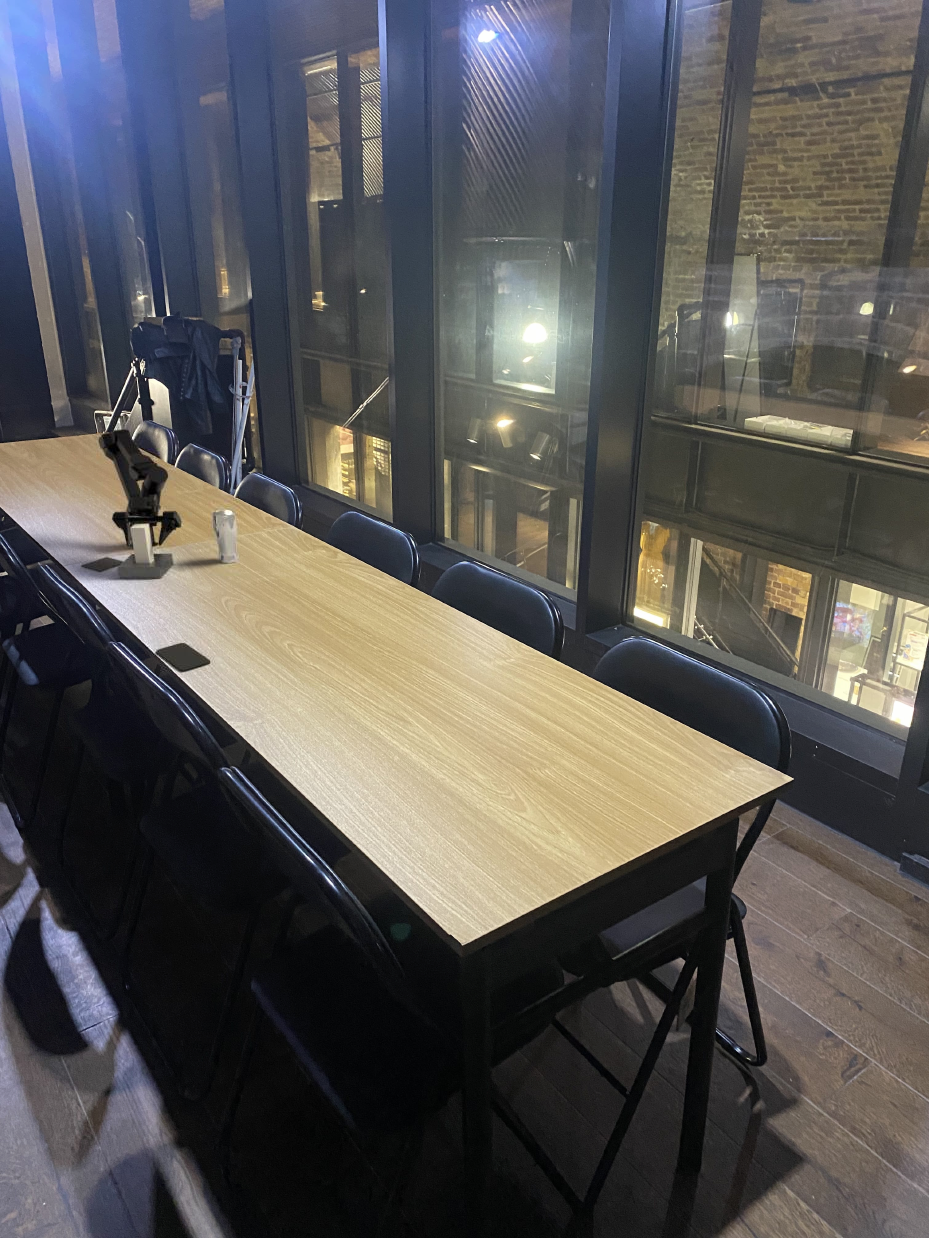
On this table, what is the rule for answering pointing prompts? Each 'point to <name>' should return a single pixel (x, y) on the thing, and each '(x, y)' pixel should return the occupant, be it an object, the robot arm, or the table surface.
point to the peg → (142, 543)
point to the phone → (183, 657)
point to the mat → (102, 564)
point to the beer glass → (225, 535)
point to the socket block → (145, 567)
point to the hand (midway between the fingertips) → (143, 545)
